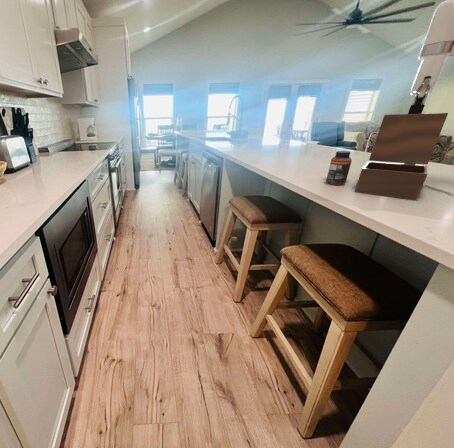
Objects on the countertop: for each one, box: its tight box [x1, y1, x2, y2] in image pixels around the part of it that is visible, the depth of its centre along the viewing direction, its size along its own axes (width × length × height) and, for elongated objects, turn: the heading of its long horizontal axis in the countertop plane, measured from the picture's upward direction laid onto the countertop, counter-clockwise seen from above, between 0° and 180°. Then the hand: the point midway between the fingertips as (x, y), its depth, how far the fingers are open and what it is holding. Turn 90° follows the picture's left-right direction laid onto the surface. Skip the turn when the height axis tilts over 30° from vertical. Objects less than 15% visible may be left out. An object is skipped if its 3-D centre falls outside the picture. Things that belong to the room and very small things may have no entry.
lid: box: [368, 112, 449, 166], centre depth 78 cm, size 15×14×1 cm
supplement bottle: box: [325, 150, 352, 186], centre depth 86 cm, size 6×6×11 cm
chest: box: [354, 161, 428, 201], centre depth 77 cm, size 14×14×8 cm
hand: (412, 118), depth 80 cm, fingers closed
